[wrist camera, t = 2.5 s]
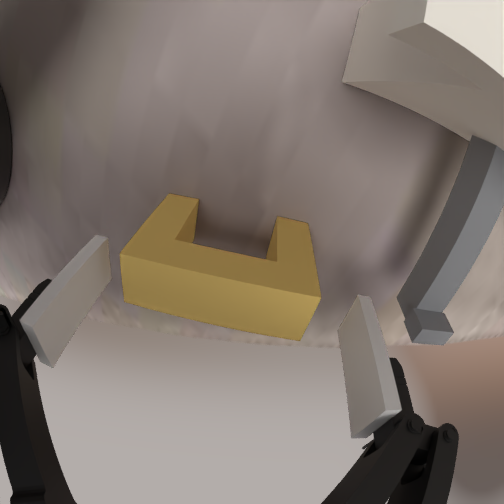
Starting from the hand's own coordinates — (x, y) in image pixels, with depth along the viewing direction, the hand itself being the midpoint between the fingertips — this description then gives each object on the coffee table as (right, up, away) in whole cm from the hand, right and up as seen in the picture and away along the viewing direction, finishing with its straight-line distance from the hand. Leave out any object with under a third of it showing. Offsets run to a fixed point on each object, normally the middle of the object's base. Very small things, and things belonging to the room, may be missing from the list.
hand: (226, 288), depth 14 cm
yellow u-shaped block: (0, +3, +4) cm, 6 cm away
